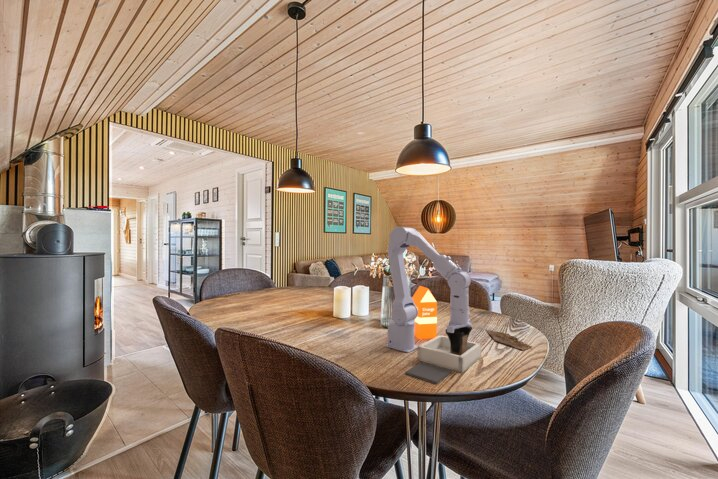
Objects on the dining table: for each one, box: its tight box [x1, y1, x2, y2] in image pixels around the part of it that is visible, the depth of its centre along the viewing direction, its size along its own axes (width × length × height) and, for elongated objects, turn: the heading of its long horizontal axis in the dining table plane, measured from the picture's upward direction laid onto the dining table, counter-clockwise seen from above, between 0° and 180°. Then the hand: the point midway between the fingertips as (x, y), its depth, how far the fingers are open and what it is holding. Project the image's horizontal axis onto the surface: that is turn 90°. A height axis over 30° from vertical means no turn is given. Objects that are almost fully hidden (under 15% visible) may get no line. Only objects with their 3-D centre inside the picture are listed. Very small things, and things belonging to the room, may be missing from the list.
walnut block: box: [450, 334, 468, 355], centre depth 104 cm, size 4×4×6 cm
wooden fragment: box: [485, 329, 533, 352], centre depth 127 cm, size 26×11×1 cm, turn 4°
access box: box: [417, 334, 482, 373], centre depth 106 cm, size 15×16×4 cm
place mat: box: [404, 361, 453, 385], centre depth 94 cm, size 10×10×1 cm
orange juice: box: [411, 285, 438, 340], centre depth 131 cm, size 8×9×20 cm
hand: (458, 349), depth 104 cm, fingers open, 4 cm apart
